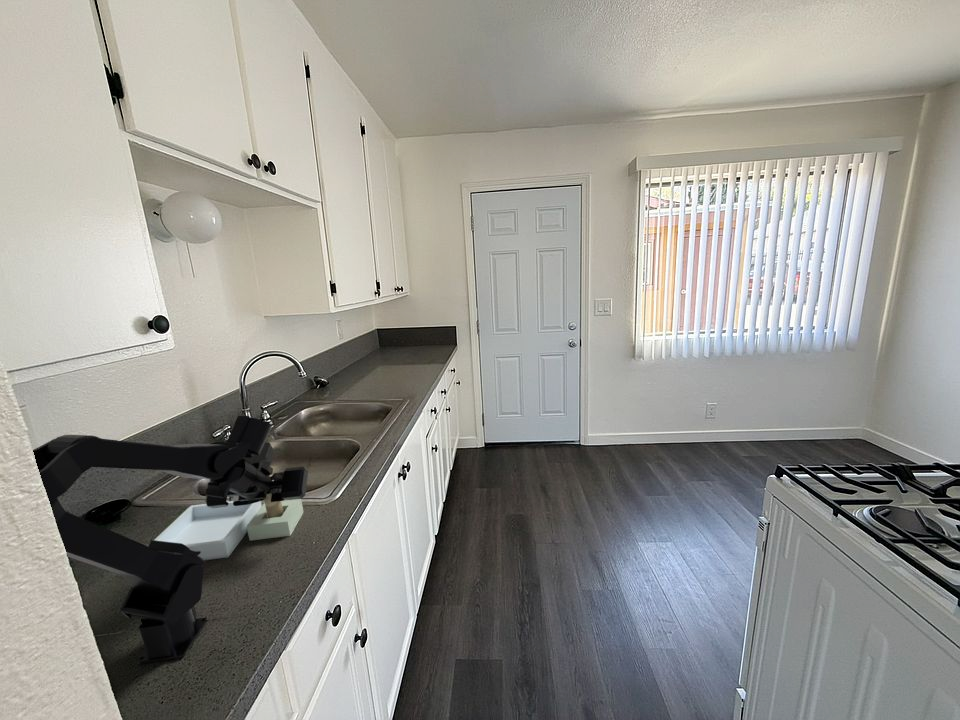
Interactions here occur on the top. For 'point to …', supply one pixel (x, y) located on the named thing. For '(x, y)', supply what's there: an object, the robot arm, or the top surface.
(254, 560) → the top surface
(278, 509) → the dowel
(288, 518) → the dowel block
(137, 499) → the top surface
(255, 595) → the top surface
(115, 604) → the top surface
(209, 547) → the tray
